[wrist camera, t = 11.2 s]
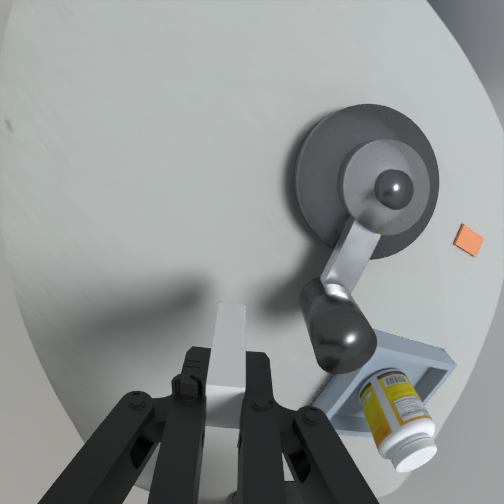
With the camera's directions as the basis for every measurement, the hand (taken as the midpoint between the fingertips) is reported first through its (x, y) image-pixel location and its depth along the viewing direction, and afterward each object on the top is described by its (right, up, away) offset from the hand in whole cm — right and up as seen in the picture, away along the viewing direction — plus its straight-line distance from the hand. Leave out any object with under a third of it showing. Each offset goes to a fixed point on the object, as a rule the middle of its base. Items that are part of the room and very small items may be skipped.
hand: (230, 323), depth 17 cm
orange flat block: (+21, +5, +5) cm, 23 cm away
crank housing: (+10, +9, +4) cm, 14 cm away
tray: (+15, -10, +11) cm, 20 cm away
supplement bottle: (+15, -10, +10) cm, 20 cm away
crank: (+8, +5, +3) cm, 10 cm away
